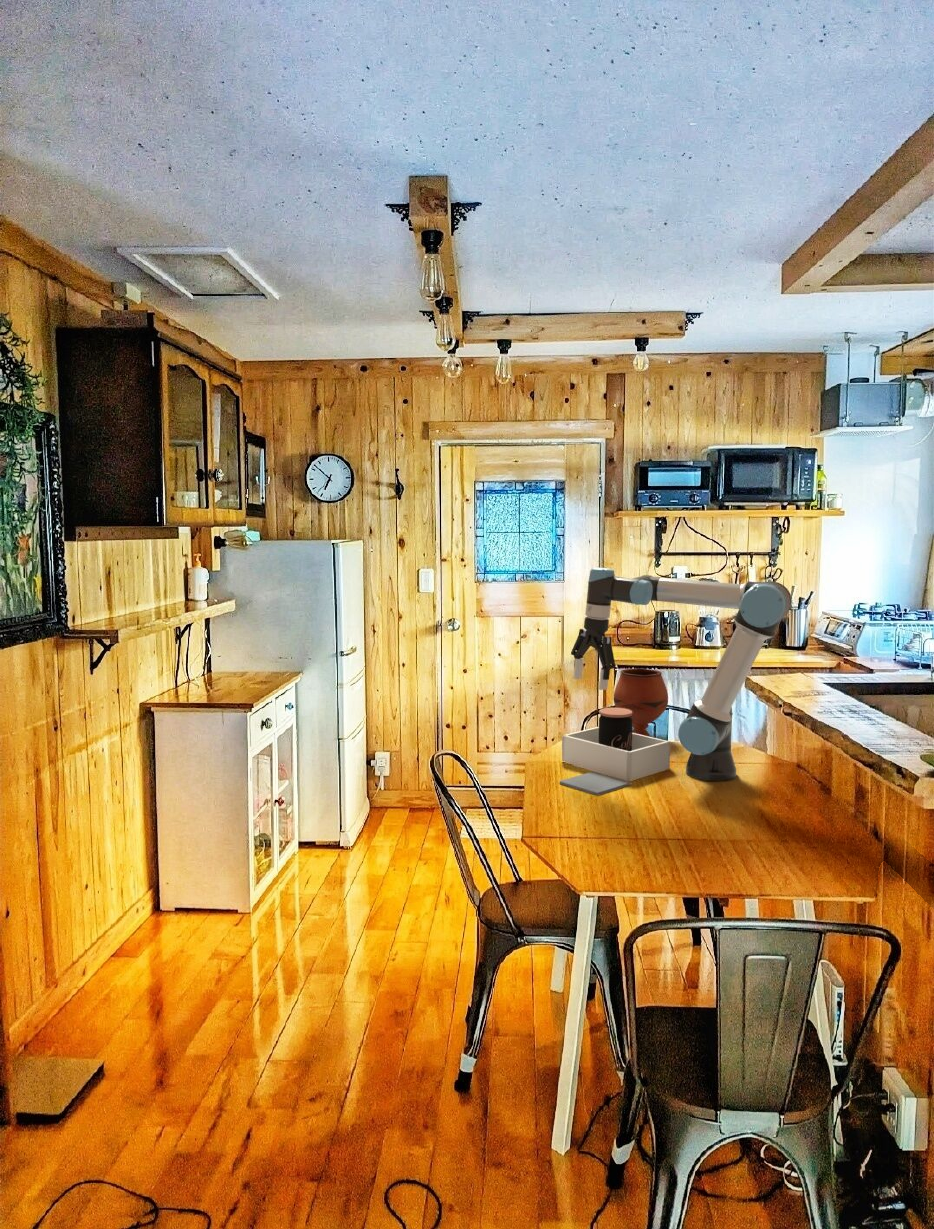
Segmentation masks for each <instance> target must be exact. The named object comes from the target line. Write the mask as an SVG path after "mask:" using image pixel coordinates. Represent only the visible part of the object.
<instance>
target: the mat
mask: <svg viewBox="0 0 934 1229" xmlns="http://www.w3.org/2000/svg"><path fill="white" fill-rule="evenodd" d="M631 782H632V781H626V780H622V779H619V778H615V777H612V776H608V775H605V774H601V773H598V772H594V771H589V772H586V773H583V774H580V775H576V776H573V777H569V778H565V779H562V780H559V784H560V785H562V786H565V787H569V788H572V789H575V790H578V791H581V792H585V793H587V794H592V795H595V796H600V795H604V794H607V793H610V792H613V791H616V790H620V789H623V788H626V787H630V786H631Z"/></svg>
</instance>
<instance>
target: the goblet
mask: <svg viewBox="0 0 934 1229" xmlns="http://www.w3.org/2000/svg"><path fill="white" fill-rule="evenodd" d="M662 674H663V673H662V671H660V670H657V669H649V668H648V669H647V668H625V669H621V670H620V676H619V678H618V680H617V683H616V685H615V689H614V692H613V704H614V706H615V708H625V709H629V710H631V711H632V712H633V713H632V715H631V718H632V733H636V734H640V735H644V736H649V737H652V736H651V734H650V732H648V730H647V728H648V727H649V724H651V723H654V721H656V720H658V719H659V718H660V717H661V716H662V715H663V713H664V712H665V710H666V709H667V707H668V705H669V693H668V689H667V687H666V684H665V681H664V678H663V676H662Z"/></svg>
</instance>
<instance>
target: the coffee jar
mask: <svg viewBox="0 0 934 1229" xmlns="http://www.w3.org/2000/svg"><path fill="white" fill-rule="evenodd" d="M598 713H599V715H600V716H599V717H598V727H599V744H602V745H606V746H610V747H614V748H618V749H622V750H626V751H632V730H633V726H632V718H631V715H632V713H633V712H632V711H631V710H629V709H625V708H616V707H605V708H601V709H599V711H598Z"/></svg>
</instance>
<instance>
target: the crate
mask: <svg viewBox="0 0 934 1229" xmlns="http://www.w3.org/2000/svg"><path fill="white" fill-rule="evenodd" d="M670 757H671V741H669V740H665V739H663V738H662V739H660V738H656V737H652V736H651V737H649V736H644V735H640V734H636V733H632V751H626V750H622V749H618V748H614V747H610V746H606V745H602V744H599V726H597V727H592V728H587V729H584V730H578V731H575V732H571V733H567V734H563V735H562V736H561V762H562V761H565V762H567V763H569V764H568V765H570V764H572V765H571V766H573V765H574V767H577V768H581V769H584V770H587V771H590V772H596V773H599V774H603V775H606V776H610V777H613V778H617V779H620V780H624V781H627V782H633V781H634V780H635V781H636V780H639V779H641V778H645V777H648V776H652V775H654V774H659V773H661V772H664V771H668V770H670V768H671V767H670V764H671V762H670V760H671V758H670Z"/></svg>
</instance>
